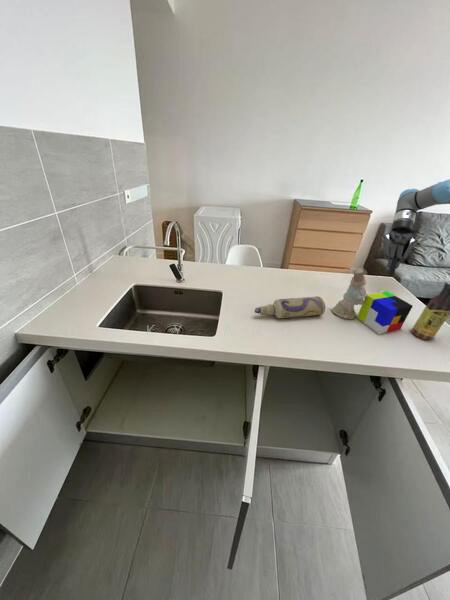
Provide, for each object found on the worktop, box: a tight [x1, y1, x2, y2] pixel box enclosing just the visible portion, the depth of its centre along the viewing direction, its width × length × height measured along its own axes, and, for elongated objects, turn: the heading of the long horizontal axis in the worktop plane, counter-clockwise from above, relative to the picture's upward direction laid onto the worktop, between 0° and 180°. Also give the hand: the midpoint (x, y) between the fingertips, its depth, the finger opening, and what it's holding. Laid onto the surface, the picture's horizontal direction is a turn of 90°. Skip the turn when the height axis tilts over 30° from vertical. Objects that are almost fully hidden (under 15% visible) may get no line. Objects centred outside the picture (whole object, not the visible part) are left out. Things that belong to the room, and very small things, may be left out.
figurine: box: [331, 267, 367, 320], centre depth 87 cm, size 9×8×20 cm
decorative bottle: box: [254, 295, 326, 319], centre depth 88 cm, size 26×8×7 cm, turn 101°
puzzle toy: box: [356, 291, 414, 335], centre depth 86 cm, size 10×10×10 cm
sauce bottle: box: [411, 281, 450, 341], centre depth 79 cm, size 6×6×20 cm
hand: (390, 274), depth 98 cm, fingers closed
